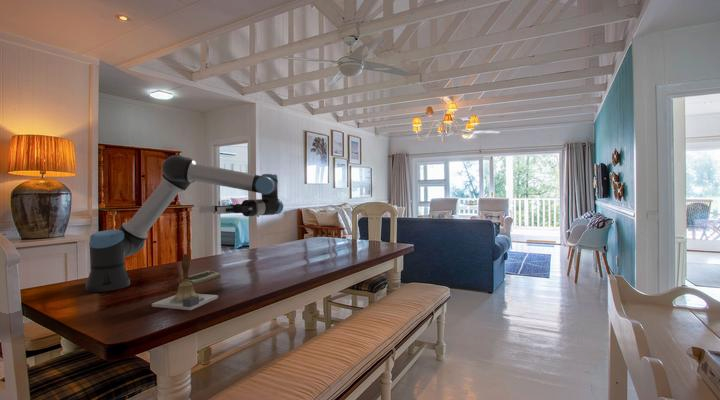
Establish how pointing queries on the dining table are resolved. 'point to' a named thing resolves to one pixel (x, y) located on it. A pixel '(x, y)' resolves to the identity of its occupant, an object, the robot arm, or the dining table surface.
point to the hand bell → (185, 282)
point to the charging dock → (180, 306)
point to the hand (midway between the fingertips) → (208, 210)
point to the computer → (202, 277)
